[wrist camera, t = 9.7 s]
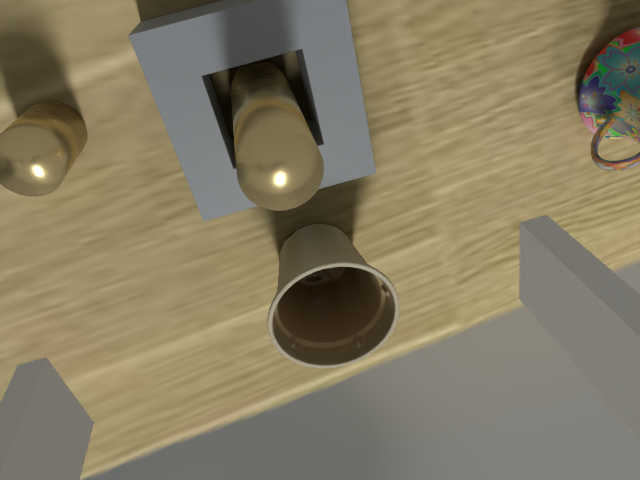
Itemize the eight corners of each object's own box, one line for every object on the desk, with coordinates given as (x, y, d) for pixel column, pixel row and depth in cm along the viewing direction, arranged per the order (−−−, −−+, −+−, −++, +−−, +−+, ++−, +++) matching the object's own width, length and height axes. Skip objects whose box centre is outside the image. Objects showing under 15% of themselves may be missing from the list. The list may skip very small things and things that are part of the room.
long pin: (240, 125, 36) (251, 220, 24) (222, 69, 34) (224, 143, 22) (294, 110, 36) (331, 197, 24) (280, 54, 34) (313, 118, 22)
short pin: (41, 164, 35) (11, 204, 30) (9, 109, 33) (-29, 142, 28) (97, 149, 35) (77, 185, 30) (70, 93, 33) (42, 122, 28)
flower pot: (240, 231, 40) (244, 297, 33) (348, 185, 40) (377, 242, 33) (285, 313, 45) (298, 385, 38) (382, 272, 45) (414, 338, 38)
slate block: (205, 189, 38) (203, 221, 34) (140, 21, 31) (128, 35, 27) (358, 146, 38) (376, 173, 34) (326, -28, 32) (342, -22, 28)
